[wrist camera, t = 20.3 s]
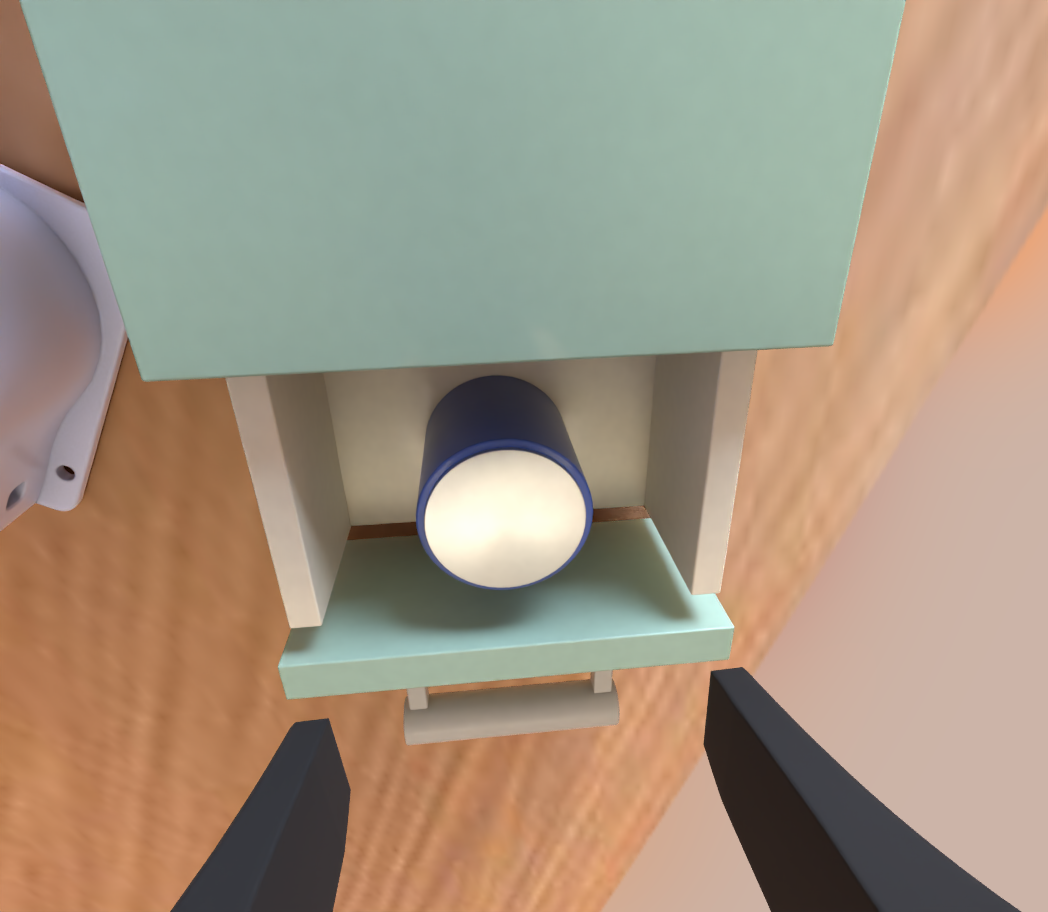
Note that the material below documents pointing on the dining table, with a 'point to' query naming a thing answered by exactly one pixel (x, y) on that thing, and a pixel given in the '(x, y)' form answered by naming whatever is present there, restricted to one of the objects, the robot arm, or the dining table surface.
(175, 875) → the dining table surface
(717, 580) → the drawer
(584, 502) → the can
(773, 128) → the cabinet
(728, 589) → the dining table surface
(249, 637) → the dining table surface
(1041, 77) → the dining table surface
